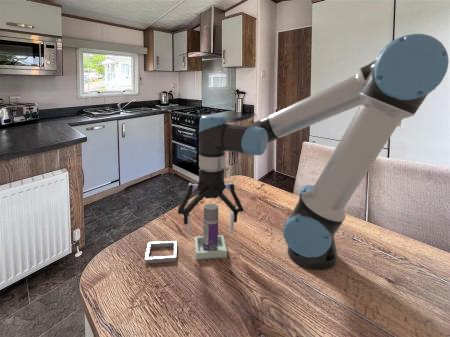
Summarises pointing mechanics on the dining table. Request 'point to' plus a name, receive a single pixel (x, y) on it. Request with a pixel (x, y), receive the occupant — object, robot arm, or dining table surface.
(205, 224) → the container
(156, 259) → the collar
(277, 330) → the dining table surface
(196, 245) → the tray
